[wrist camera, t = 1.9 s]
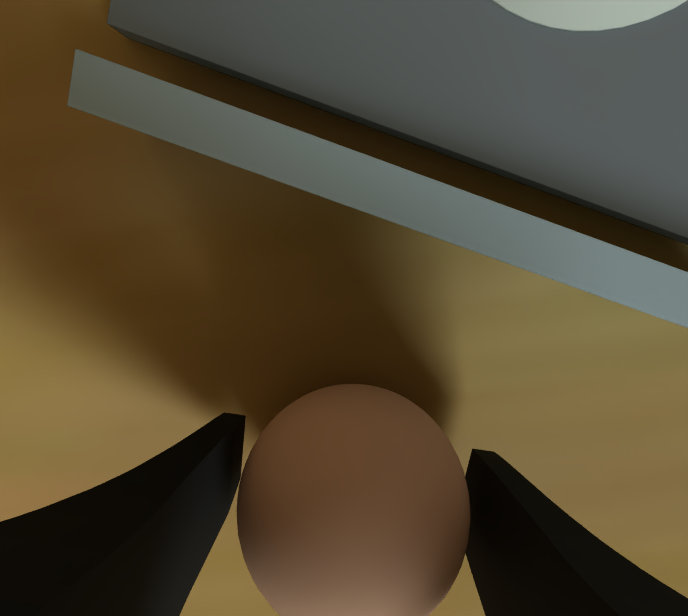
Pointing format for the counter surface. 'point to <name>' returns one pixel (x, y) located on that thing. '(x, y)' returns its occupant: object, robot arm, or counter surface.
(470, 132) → the mat
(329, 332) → the counter surface
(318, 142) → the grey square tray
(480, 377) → the counter surface
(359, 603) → the ball
